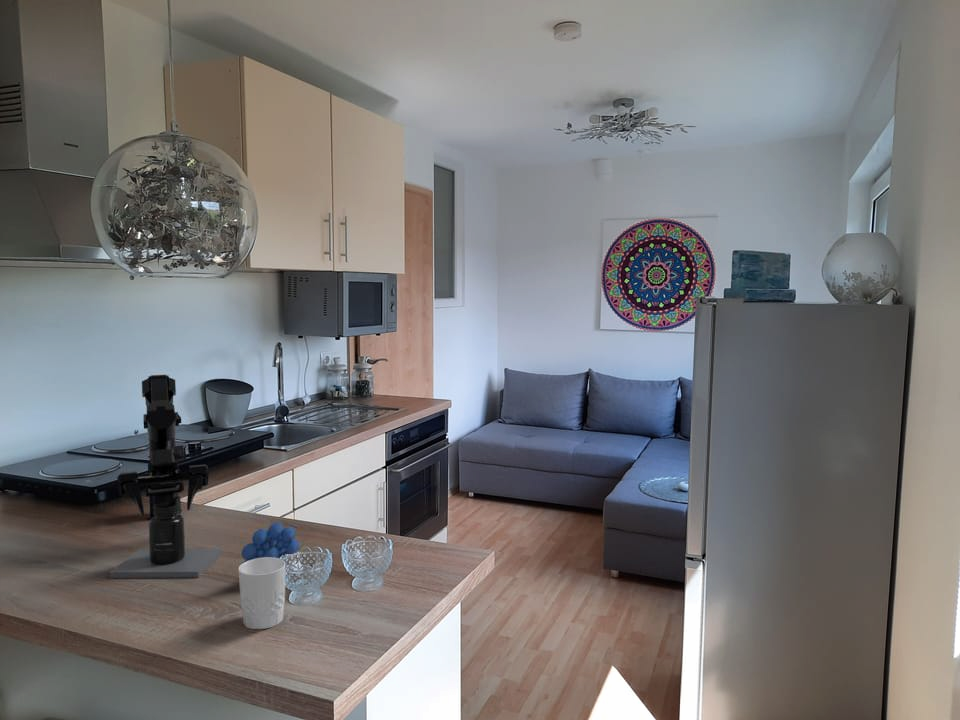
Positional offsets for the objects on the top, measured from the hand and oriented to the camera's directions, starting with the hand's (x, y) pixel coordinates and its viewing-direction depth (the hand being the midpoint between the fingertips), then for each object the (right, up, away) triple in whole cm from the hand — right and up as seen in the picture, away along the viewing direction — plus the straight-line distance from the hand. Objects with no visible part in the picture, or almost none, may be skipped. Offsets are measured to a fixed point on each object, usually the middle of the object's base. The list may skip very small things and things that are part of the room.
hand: (166, 512), depth 148 cm
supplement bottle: (+3, -9, -6) cm, 11 cm away
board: (+4, -10, -6) cm, 12 cm away
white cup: (+32, -12, -31) cm, 46 cm away
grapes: (+28, -11, -14) cm, 33 cm away
